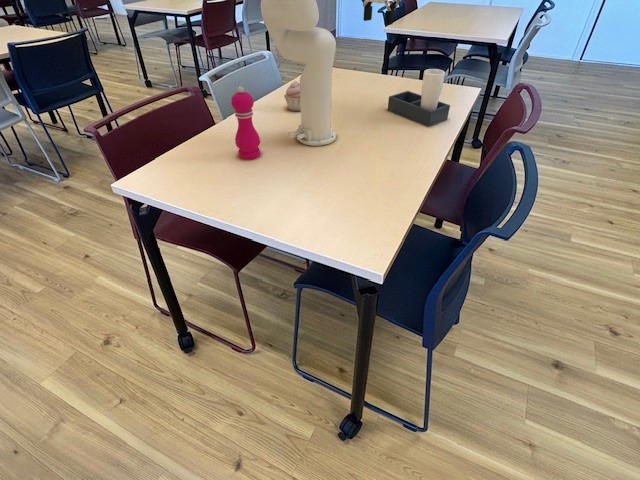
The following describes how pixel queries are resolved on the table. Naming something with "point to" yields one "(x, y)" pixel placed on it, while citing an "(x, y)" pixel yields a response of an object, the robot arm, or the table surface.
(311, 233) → the table surface
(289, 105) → the cupcake
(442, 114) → the glass rack
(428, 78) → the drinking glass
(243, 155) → the pepper mill
